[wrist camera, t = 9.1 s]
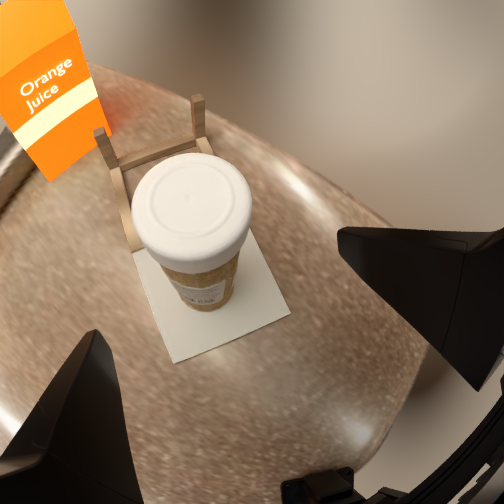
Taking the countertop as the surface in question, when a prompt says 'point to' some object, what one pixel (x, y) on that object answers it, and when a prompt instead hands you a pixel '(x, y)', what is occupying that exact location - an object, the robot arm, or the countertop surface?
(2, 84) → the orange juice
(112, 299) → the countertop surface
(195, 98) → the frame
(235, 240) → the sprinkles bottle
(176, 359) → the mat
